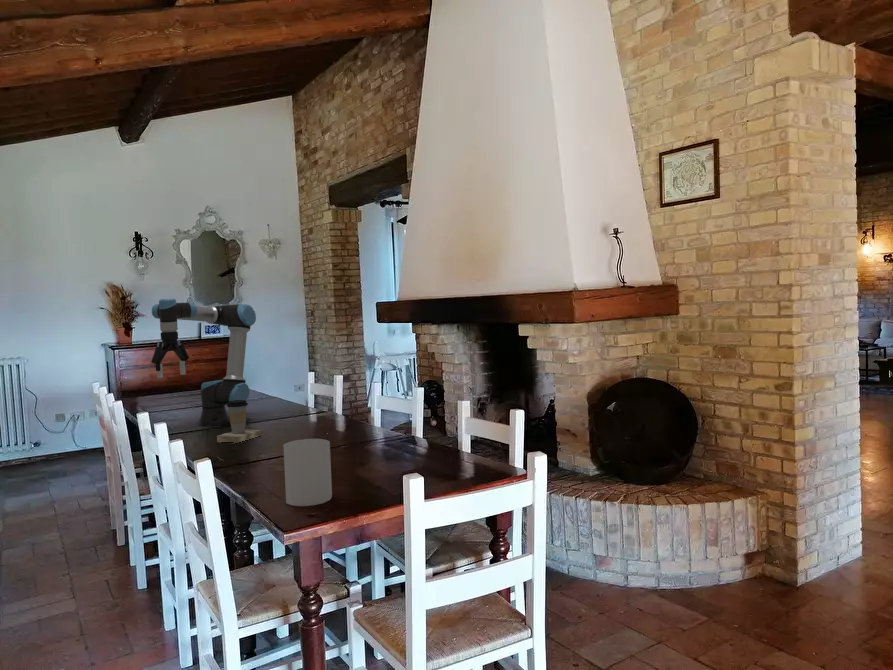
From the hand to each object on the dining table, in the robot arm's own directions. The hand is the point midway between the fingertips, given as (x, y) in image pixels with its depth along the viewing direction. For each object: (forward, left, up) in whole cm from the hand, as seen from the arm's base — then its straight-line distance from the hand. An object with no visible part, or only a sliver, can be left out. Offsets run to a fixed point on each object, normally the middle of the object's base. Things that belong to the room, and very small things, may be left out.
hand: (171, 376), depth 306 cm
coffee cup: (-10, +30, -28) cm, 42 cm away
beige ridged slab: (-10, +30, -31) cm, 44 cm away
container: (+58, +119, -31) cm, 136 cm away
